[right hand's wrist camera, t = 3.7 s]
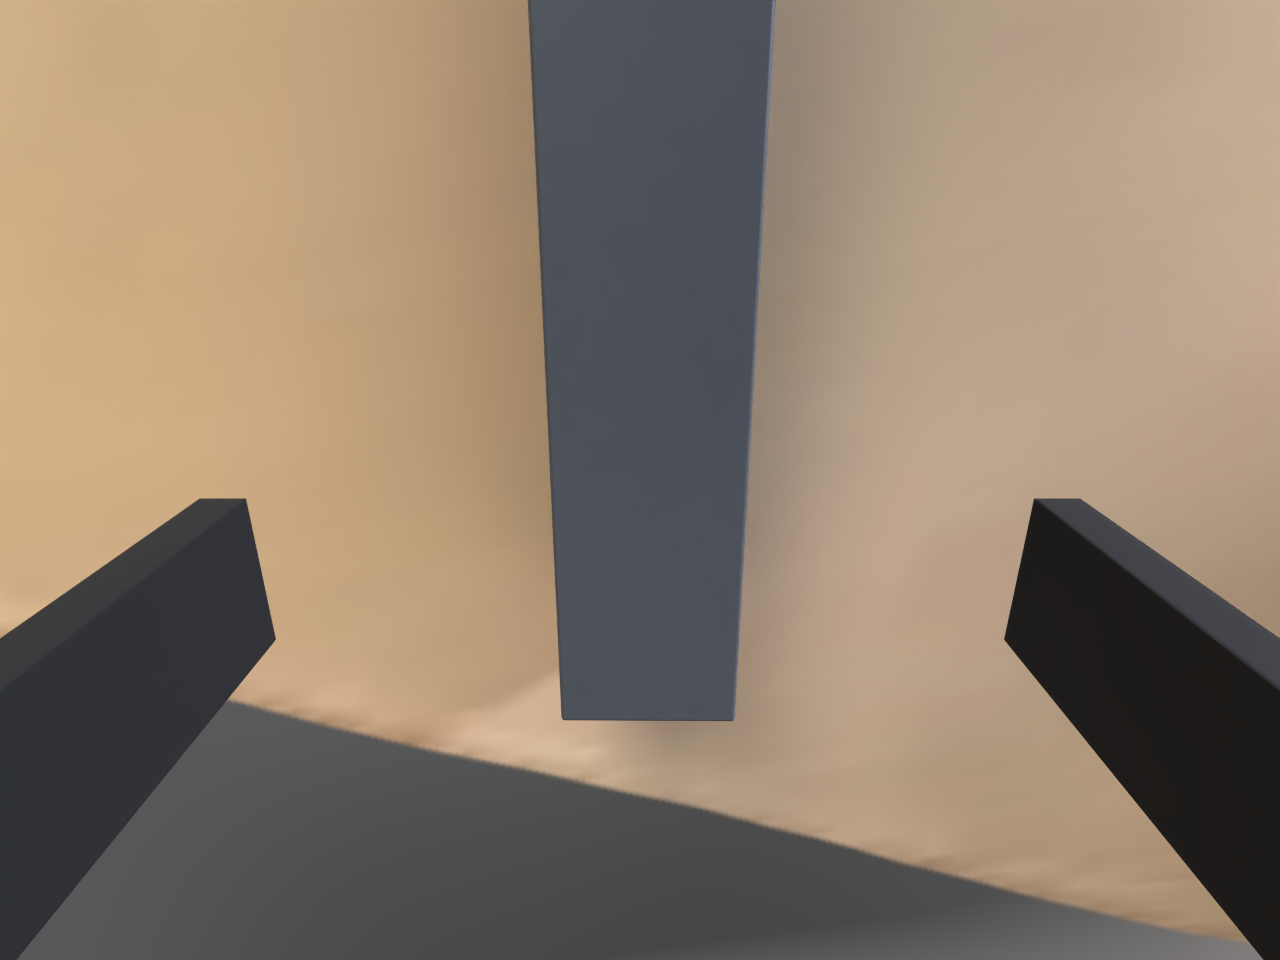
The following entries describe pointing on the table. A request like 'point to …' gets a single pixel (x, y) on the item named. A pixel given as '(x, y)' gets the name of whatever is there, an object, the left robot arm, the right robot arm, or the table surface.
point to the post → (649, 338)
